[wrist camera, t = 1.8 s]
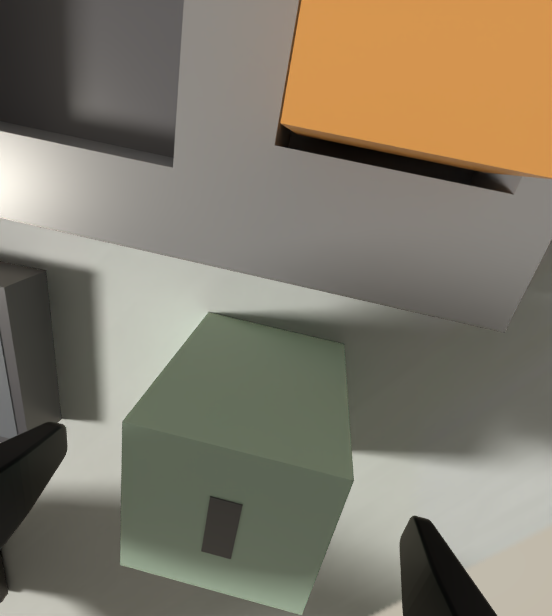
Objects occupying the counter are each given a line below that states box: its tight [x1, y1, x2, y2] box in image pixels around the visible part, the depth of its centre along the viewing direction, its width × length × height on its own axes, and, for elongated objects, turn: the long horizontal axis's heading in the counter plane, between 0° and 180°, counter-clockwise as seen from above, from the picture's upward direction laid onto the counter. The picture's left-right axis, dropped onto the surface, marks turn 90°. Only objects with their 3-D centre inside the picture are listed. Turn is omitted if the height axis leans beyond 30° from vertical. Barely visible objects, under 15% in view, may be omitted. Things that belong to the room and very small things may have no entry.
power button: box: [281, 0, 552, 179], centre depth 6 cm, size 4×4×3 cm
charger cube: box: [120, 312, 354, 615], centre depth 10 cm, size 5×5×6 cm
